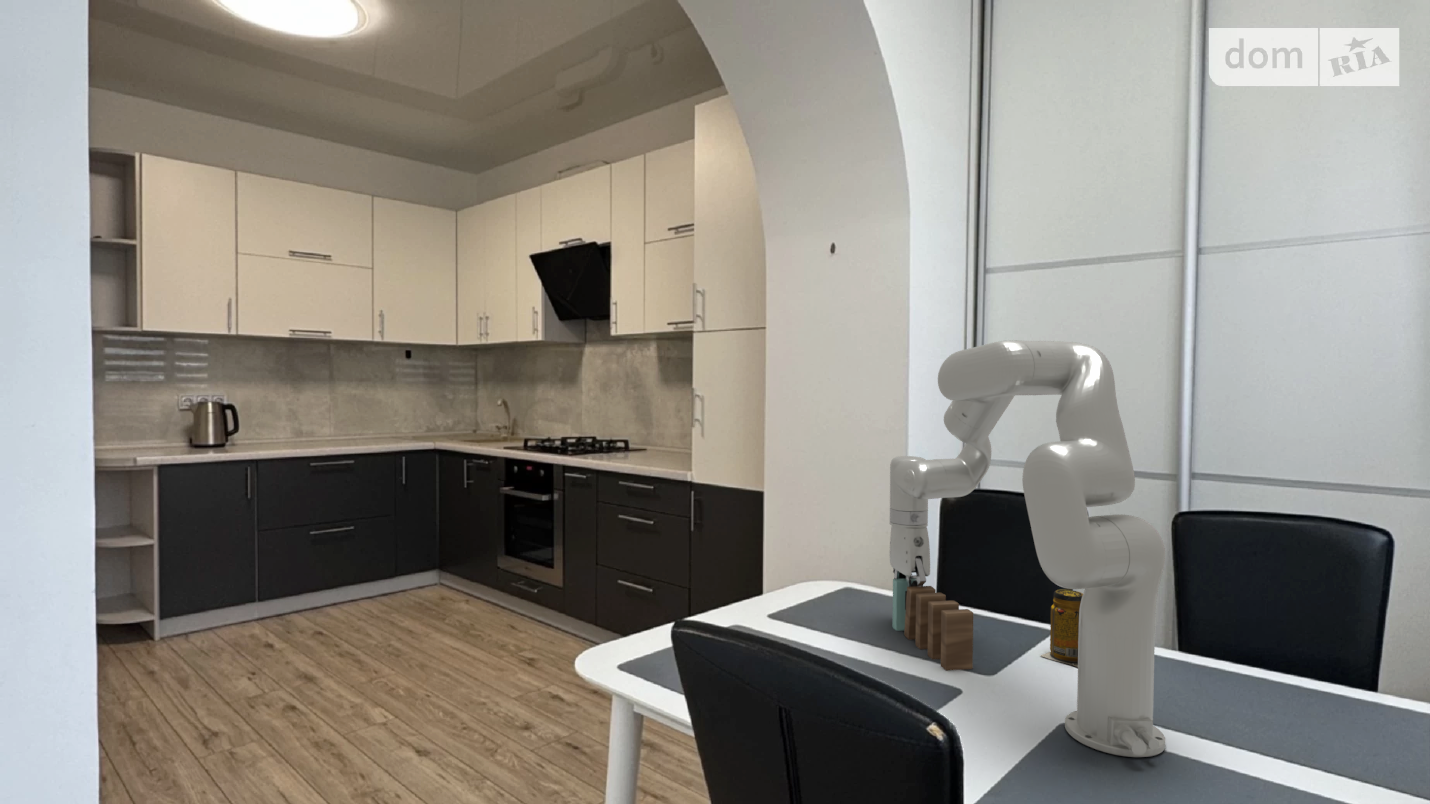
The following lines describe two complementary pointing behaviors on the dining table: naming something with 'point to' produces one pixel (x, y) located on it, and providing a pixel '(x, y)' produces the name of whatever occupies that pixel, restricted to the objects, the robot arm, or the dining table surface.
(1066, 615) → the condiment
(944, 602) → the domino
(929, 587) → the domino
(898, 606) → the domino
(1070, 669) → the dining table surface
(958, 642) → the domino
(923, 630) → the domino
